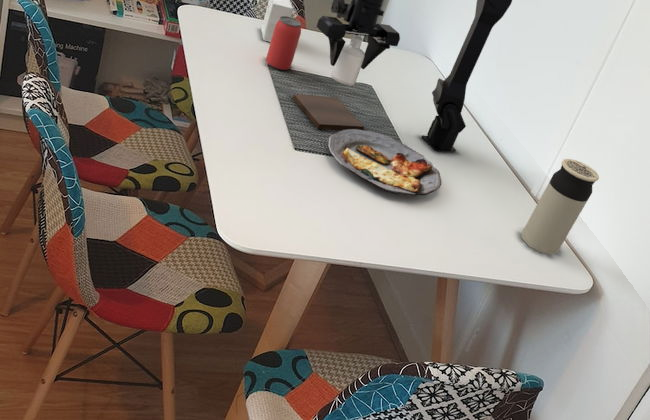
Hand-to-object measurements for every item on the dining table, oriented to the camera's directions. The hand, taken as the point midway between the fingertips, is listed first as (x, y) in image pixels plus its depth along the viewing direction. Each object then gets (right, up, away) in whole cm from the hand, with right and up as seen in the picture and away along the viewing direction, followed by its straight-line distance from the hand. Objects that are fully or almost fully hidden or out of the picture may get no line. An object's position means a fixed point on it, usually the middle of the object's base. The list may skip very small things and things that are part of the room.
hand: (347, 66), depth 165 cm
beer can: (-17, +4, +22) cm, 28 cm away
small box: (-20, +15, +37) cm, 45 cm away
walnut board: (-5, -10, +6) cm, 12 cm away
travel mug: (+38, -39, -15) cm, 57 cm away
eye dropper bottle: (-1, -3, +2) cm, 4 cm away
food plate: (+7, -24, -9) cm, 26 cm away
